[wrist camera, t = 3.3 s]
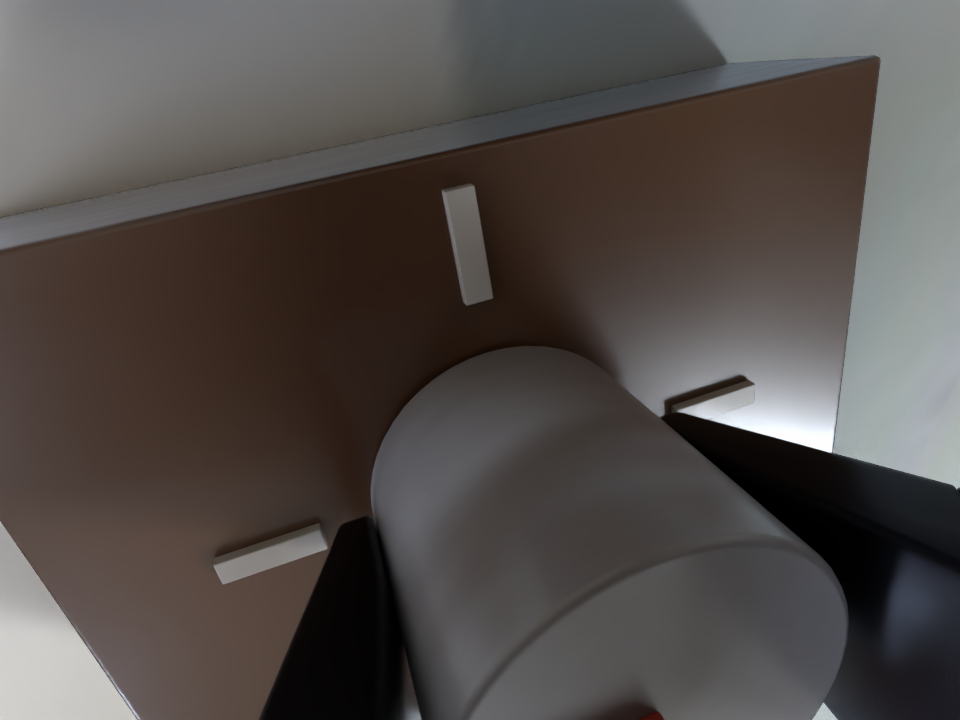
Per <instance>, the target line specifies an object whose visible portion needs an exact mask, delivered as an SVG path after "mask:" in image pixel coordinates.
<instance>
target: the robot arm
mask: <svg viewBox="0 0 960 720" xmlns="http://www.w3.org/2000/svg"><path fill="white" fill-rule="evenodd" d="M659 418H660V419H662V420H663V421H664V422H665V423H666V424H667V425H669V426H670V427H671V428H672V429H673V430H674V431H676V432H677V433H678V434H679V435H680V436H681V437H683V438H684V439H685V440H686V441H687V442H688V443H690V444H691V445H692V446H693V447H694V448H695V449H697V450H698V451H699V452H700V453H701V454H702V455H704V456H705V457H706V458H707V459H708V460H709V461H711V462H712V463H713V464H714V465H715V466H716V467H718V468H719V469H720V470H721V471H722V472H723V473H725V474H726V475H727V476H728V477H729V478H730V479H732V480H733V481H734V482H735V483H736V484H737V485H739V486H740V487H741V488H742V489H743V490H744V491H746V492H747V493H748V494H749V495H750V496H751V497H752V498H754V499H755V500H756V501H757V502H758V503H759V504H761V505H762V506H763V507H764V508H765V509H766V510H768V511H769V512H770V513H771V514H772V515H773V516H775V517H776V518H777V519H778V520H779V521H780V522H782V523H783V524H784V525H785V526H786V527H787V528H789V529H790V530H791V531H792V532H793V533H794V534H796V535H797V536H798V537H799V538H800V539H801V540H803V541H804V542H805V543H806V544H807V545H808V546H810V547H811V548H812V549H813V550H814V551H815V552H817V553H818V554H819V555H820V556H821V557H822V558H823V559H824V560H825V561H826V563H827V564H828V565H829V566H830V567H831V568H832V570H833V572H834V574H835V575H836V577H837V579H838V581H839V582H840V584H841V586H842V589H843V592H844V595H845V598H846V602H847V606H848V617H849V627H848V639H847V644H846V648H845V652H844V657H843V660H842V663H841V665H840V668H839V671H838V674H837V676H836V679H835V681H834V683H833V685H832V687H831V689H830V691H829V693H828V695H827V697H826V698H825V700H824V703H825V705H826V706H827V707H828V708H829V709H830V711H831V712H832V713H833V714H834V715H835V717H836V718H837V719H838V720H960V488H958V489H957V490H956V488H955V487H954V486H953V485H950V484H946V483H943V482H939V481H935V480H931V479H928V478H924V477H920V476H917V475H913V474H909V473H905V472H902V471H898V470H894V469H890V468H887V467H883V466H879V465H875V464H872V463H868V462H864V461H861V460H857V459H853V458H849V457H846V456H842V455H838V454H834V453H831V452H827V451H823V450H819V449H816V448H812V447H808V446H805V445H801V444H797V443H793V442H790V441H786V440H782V439H778V438H775V437H771V436H767V435H763V434H760V433H756V432H752V431H749V430H745V429H741V428H737V427H734V426H730V425H726V424H722V423H719V422H715V421H711V420H708V419H704V418H700V417H696V416H693V415H689V414H685V413H681V412H673V413H670V414H667V415H664V416H661V417H659ZM258 720H421V716H420V712H419V708H418V703H417V699H416V695H415V691H414V686H413V682H412V678H411V673H410V669H409V665H408V661H407V656H406V652H405V648H404V643H403V639H402V635H401V631H400V626H399V622H398V618H397V613H396V609H395V605H394V601H393V596H392V592H391V588H390V583H389V579H388V575H387V571H386V566H385V562H384V558H383V553H382V549H381V545H380V541H379V536H378V532H377V529H376V526H375V523H374V520H373V518H372V517H371V516H368V515H367V516H363V517H360V518H357V519H354V520H351V521H348V522H345V523H343V524H342V525H341V526H340V527H339V529H338V531H337V533H336V536H335V538H334V541H333V543H332V545H331V548H330V550H329V552H328V555H327V557H326V560H325V562H324V564H323V567H322V569H321V572H320V574H319V576H318V579H317V581H316V583H315V586H314V588H313V591H312V593H311V595H310V598H309V600H308V603H307V605H306V607H305V610H304V612H303V614H302V617H301V619H300V622H299V624H298V626H297V629H296V631H295V634H294V636H293V638H292V641H291V643H290V645H289V648H288V650H287V653H286V655H285V657H284V660H283V662H282V665H281V667H280V669H279V672H278V674H277V676H276V679H275V681H274V684H273V686H272V688H271V691H270V693H269V696H268V698H267V700H266V703H265V705H264V707H263V710H262V712H261V715H260V717H259V719H258Z"/></svg>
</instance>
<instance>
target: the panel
mask: <svg viewBox="0 0 960 720" xmlns="http://www.w3.org/2000/svg"><path fill="white" fill-rule="evenodd" d="M879 69H880V57H877V56H855V57H836V58H816V59H797V60H778V61H758V62H739V63H729V64H724V65H720V66H715V67H710V68H706V69H701V70H696V71H691V72H687V73H682V74H677V75H673V76H668V77H663V78H658V79H654V80H649V81H644V82H639V83H635V84H630V85H625V86H621V87H616V88H611V89H606V90H602V91H597V92H592V93H588V94H583V95H578V96H573V97H569V98H564V99H559V100H554V101H550V102H545V103H540V104H536V105H531V106H526V107H521V108H517V109H512V110H507V111H502V112H498V113H493V114H488V115H484V116H479V117H474V118H469V119H465V120H460V121H455V122H451V123H446V124H441V125H436V126H432V127H427V128H422V129H417V130H413V131H408V132H403V133H399V134H394V135H389V136H384V137H380V138H375V139H370V140H366V141H361V142H356V143H351V144H347V145H342V146H337V147H332V148H328V149H323V150H318V151H314V152H309V153H304V154H299V155H295V156H290V157H285V158H280V159H276V160H271V161H266V162H262V163H257V164H252V165H247V166H243V167H238V168H233V169H229V170H224V171H219V172H214V173H210V174H205V175H200V176H195V177H191V178H186V179H181V180H177V181H172V182H167V183H162V184H158V185H153V186H148V187H144V188H139V189H134V190H129V191H125V192H120V193H115V194H110V195H106V196H101V197H96V198H92V199H87V200H82V201H77V202H73V203H68V204H63V205H59V206H54V207H49V208H44V209H40V210H35V211H30V212H25V213H21V214H16V215H11V216H7V217H2V218H0V521H1V523H2V524H3V526H4V527H5V529H6V530H7V532H8V533H9V534H10V536H11V537H12V539H13V540H14V542H15V543H16V545H17V546H18V547H19V549H20V550H21V552H22V553H23V555H24V556H25V558H26V559H27V560H28V562H29V563H30V565H31V566H32V568H33V569H34V571H35V572H36V574H37V575H38V576H39V578H40V579H41V581H42V582H43V584H44V585H45V587H46V588H47V589H48V591H49V592H50V594H51V595H52V597H53V598H54V600H55V601H56V602H57V604H58V605H59V607H60V608H61V610H62V611H63V613H64V614H65V615H66V617H67V618H68V620H69V621H70V623H71V624H72V626H73V627H74V629H75V630H76V631H77V633H78V634H79V636H80V637H81V639H82V640H83V642H84V643H85V644H86V646H87V647H88V649H89V650H90V652H91V653H92V655H93V656H94V657H95V659H96V660H97V662H98V663H99V665H100V666H101V668H102V669H103V670H104V672H105V673H106V675H107V676H108V678H109V679H110V681H111V682H112V683H113V685H114V686H115V688H116V689H117V691H118V692H119V694H120V695H121V697H122V698H123V699H124V701H125V702H126V704H127V705H128V707H129V708H130V710H131V711H132V712H133V714H134V715H135V717H136V718H137V720H258V719H259V717H260V715H261V712H262V710H263V707H264V705H265V703H266V700H267V698H268V696H269V693H270V691H271V688H272V686H273V684H274V681H275V679H276V676H277V674H278V672H279V669H280V667H281V665H282V662H283V660H284V657H285V655H286V653H287V650H288V648H289V645H290V643H291V641H292V638H293V636H294V634H295V631H296V629H297V626H298V624H299V622H300V619H301V617H302V614H303V612H304V610H305V607H306V605H307V603H308V600H309V598H310V595H311V593H312V591H313V588H314V586H315V583H316V581H317V579H318V576H319V574H320V572H321V569H322V567H323V564H324V562H325V560H326V557H327V555H328V552H329V550H330V548H331V545H332V543H333V541H334V538H335V536H336V533H337V531H338V529H339V527H340V526H341V525H342V524H343V523H345V522H348V521H351V520H354V519H357V518H360V517H363V516H367V515H368V516H371V517H372V518H373V520H374V523H375V519H374V515H373V511H372V506H371V480H372V472H373V468H374V464H375V460H376V456H377V454H378V451H379V449H380V446H381V444H382V441H383V439H384V437H385V435H386V434H387V432H388V430H389V428H390V427H391V425H392V423H393V421H394V420H395V419H396V417H397V416H398V415H399V413H400V412H401V411H402V409H403V408H404V407H405V405H406V404H407V403H408V402H409V401H410V400H411V399H412V398H413V397H414V396H415V395H416V394H417V393H418V392H419V391H420V390H421V389H422V388H424V387H425V386H426V385H427V384H428V383H430V382H431V381H432V380H433V379H435V378H436V377H438V376H439V375H441V374H442V373H444V372H445V371H447V370H448V369H450V368H452V367H454V366H456V365H458V364H460V363H462V362H464V361H466V360H468V359H470V358H473V357H476V356H478V355H481V354H484V353H487V352H491V351H495V350H499V349H504V348H510V347H520V346H545V347H551V348H557V349H563V350H566V351H569V352H572V353H575V354H578V355H580V356H582V357H584V358H586V359H588V360H590V361H592V362H593V363H595V364H596V365H597V366H599V367H600V368H602V369H603V370H604V371H606V372H607V373H608V374H609V375H610V376H611V377H613V378H614V379H615V380H616V381H617V382H618V383H620V384H621V385H622V386H623V387H624V388H625V389H627V390H628V391H629V392H630V393H631V394H632V395H634V396H635V397H636V398H637V399H638V400H639V401H641V402H642V403H643V404H644V405H645V406H646V407H648V408H649V409H650V410H651V411H652V412H653V413H655V414H656V415H657V416H658V417H661V416H664V415H667V414H670V413H673V412H681V413H685V414H689V415H693V416H696V417H700V418H704V419H708V420H711V421H715V422H719V423H722V424H726V425H730V426H734V427H737V428H741V429H745V430H749V431H752V432H756V433H760V434H763V435H767V436H771V437H775V438H778V439H782V440H786V441H790V442H793V443H797V444H801V445H805V446H808V447H812V448H816V449H819V450H823V451H827V452H831V453H833V447H834V439H835V431H836V423H837V414H838V406H839V398H840V390H841V381H842V373H843V365H844V357H845V349H846V340H847V332H848V324H849V316H850V307H851V299H852V291H853V283H854V274H855V266H856V258H857V250H858V242H859V233H860V225H861V217H862V209H863V200H864V192H865V184H866V176H867V167H868V159H869V151H870V143H871V135H872V126H873V118H874V110H875V102H876V93H877V85H878V77H879ZM375 526H376V524H375ZM376 529H377V528H376Z"/></svg>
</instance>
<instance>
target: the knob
mask: <svg viewBox="0 0 960 720" xmlns="http://www.w3.org/2000/svg"><path fill="white" fill-rule="evenodd" d="M371 506H372V511H373V515H374V519H375V524H376V528H377V532H378V536H379V541H380V545H381V549H382V553H383V558H384V562H385V566H386V571H387V575H388V579H389V583H390V588H391V592H392V596H393V601H394V605H395V609H396V613H397V618H398V622H399V626H400V631H401V635H402V639H403V643H404V648H405V652H406V656H407V661H408V665H409V669H410V673H411V678H412V682H413V686H414V691H415V695H416V699H417V703H418V708H419V712H420V716H421V720H812V719H813V717H814V716H815V715H816V713H817V711H818V710H819V708H820V706H821V705H822V703H823V702H824V700H825V698H826V697H827V695H828V693H829V691H830V689H831V687H832V685H833V683H834V681H835V679H836V676H837V674H838V671H839V668H840V665H841V663H842V660H843V657H844V652H845V648H846V644H847V639H848V627H849V617H848V606H847V602H846V598H845V595H844V592H843V589H842V586H841V584H840V582H839V581H838V579H837V577H836V575H835V574H834V572H833V570H832V568H831V567H830V566H829V565H828V564H827V563H826V561H825V560H824V559H823V558H822V557H821V556H820V555H819V554H818V553H817V552H815V551H814V550H813V549H812V548H811V547H810V546H808V545H807V544H806V543H805V542H804V541H803V540H801V539H800V538H799V537H798V536H797V535H796V534H794V533H793V532H792V531H791V530H790V529H789V528H787V527H786V526H785V525H784V524H783V523H782V522H780V521H779V520H778V519H777V518H776V517H775V516H773V515H772V514H771V513H770V512H769V511H768V510H766V509H765V508H764V507H763V506H762V505H761V504H759V503H758V502H757V501H756V500H755V499H754V498H752V497H751V496H750V495H749V494H748V493H747V492H746V491H744V490H743V489H742V488H741V487H740V486H739V485H737V484H736V483H735V482H734V481H733V480H732V479H730V478H729V477H728V476H727V475H726V474H725V473H723V472H722V471H721V470H720V469H719V468H718V467H716V466H715V465H714V464H713V463H712V462H711V461H709V460H708V459H707V458H706V457H705V456H704V455H702V454H701V453H700V452H699V451H698V450H697V449H695V448H694V447H693V446H692V445H691V444H690V443H688V442H687V441H686V440H685V439H684V438H683V437H681V436H680V435H679V434H678V433H677V432H676V431H674V430H673V429H672V428H671V427H670V426H669V425H667V424H666V423H665V422H664V421H663V420H662V419H660V418H659V417H658V416H657V415H656V414H655V413H653V412H652V411H651V410H650V409H649V408H648V407H646V406H645V405H644V404H643V403H642V402H641V401H639V400H638V399H637V398H636V397H635V396H634V395H632V394H631V393H630V392H629V391H628V390H627V389H625V388H624V387H623V386H622V385H621V384H620V383H618V382H617V381H616V380H615V379H614V378H613V377H611V376H610V375H609V374H608V373H607V372H606V371H604V370H603V369H602V368H600V367H599V366H597V365H596V364H595V363H593V362H592V361H590V360H588V359H586V358H584V357H582V356H580V355H578V354H575V353H572V352H569V351H566V350H563V349H557V348H551V347H545V346H520V347H510V348H504V349H499V350H495V351H491V352H487V353H484V354H481V355H478V356H476V357H473V358H470V359H468V360H466V361H464V362H462V363H460V364H458V365H456V366H454V367H452V368H450V369H448V370H447V371H445V372H444V373H442V374H441V375H439V376H438V377H436V378H435V379H433V380H432V381H431V382H430V383H428V384H427V385H426V386H425V387H424V388H422V389H421V390H420V391H419V392H418V393H417V394H416V395H415V396H414V397H413V398H412V399H411V400H410V401H409V402H408V403H407V404H406V405H405V407H404V408H403V409H402V411H401V412H400V413H399V415H398V416H397V417H396V419H395V420H394V421H393V423H392V425H391V427H390V428H389V430H388V432H387V434H386V435H385V437H384V439H383V441H382V444H381V446H380V449H379V451H378V454H377V456H376V460H375V464H374V468H373V472H372V480H371Z"/></svg>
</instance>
